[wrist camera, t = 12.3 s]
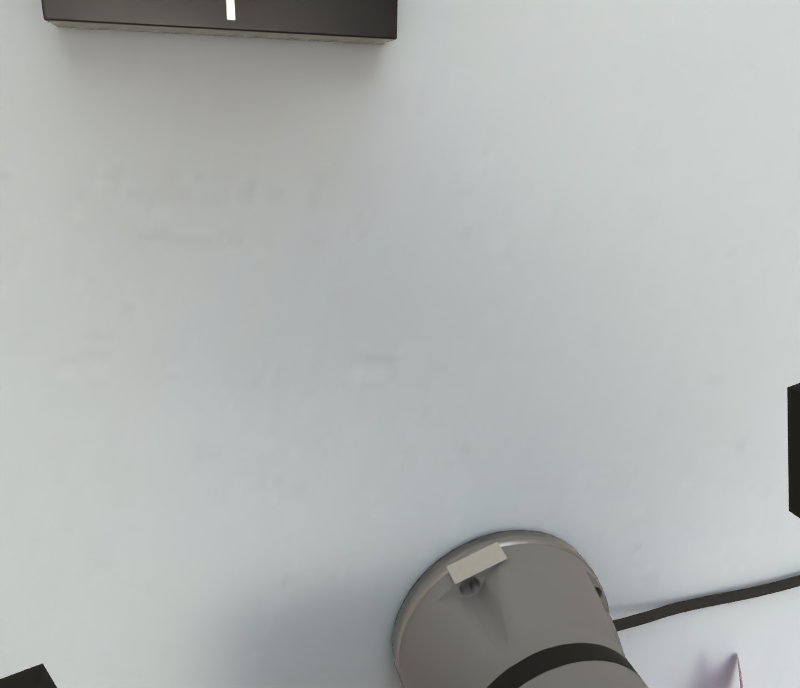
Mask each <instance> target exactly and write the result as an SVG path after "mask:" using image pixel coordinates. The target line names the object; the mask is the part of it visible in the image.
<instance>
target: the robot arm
mask: <svg viewBox="0 0 800 688" xmlns="http://www.w3.org/2000/svg"><path fill="white" fill-rule="evenodd" d="M787 396H788V475H789V511H790V512H792V513H793V514H794V515H796V516H797V517H799V518H800V383H798V384H796V385H793V386H790V387H788V388H787ZM798 586H800V575H799V576H795V577H791V578H788V579H784V580H780V581H776V582H772V583H769V584H764V585H760V586H756V587H751V588H747V589H742V590H737V591H732V592H727V593H721V594H716V595H711V596H706V597H701V598H696V599H691V600H687V601H682V602H678V603H674V604H670V605H666V606H663V607H660V608H656V609H653V610H650V611H647V612H643V613H640V614H636V615H632V616H629V617H625V618H621V619H617V620H613V621H612V619H611V617H610V615H609V609H608V604H607V600H606V597H605V594H604V591H603V589H602V587H601V585H600V583H599V581H598V579H597V577H596V575H595V574H594V572H593V571H592V569H591V568H590V567H589V566H588V564H587V563H586V562H585V561H584V560H583V558H582V557H581V556H580V555H579V554H578V552H577V551H575V550H574V549H573V548H572V547H571V546H570V545H568V544H567V543H566V542H564V541H562V540H560V539H558V538H556V537H554V536H551V535H548V534H545V533H541V532H535V531H525V530H516V531H505V532H499V533H494V534H490V535H487V536H483V537H480V538H478V539H475V540H473V541H470V542H468V543H466V544H464V545H462V546H460V547H458V548H456V549H455V550H453V551H451V552H450V553H448V554H447V555H446V556H444V557H443V558H441V559H440V560H439V561H438V562H436V563H435V564H434V565H433V566H432V567H431V568H430V569H428V570H427V571H426V572H425V573H424V574H423V576H422V577H421V578H420V579H419V580H418V581H417V582H416V584H415V585H414V586H413V588H412V589H411V591H410V592H409V594H408V595H407V597H406V599H405V600H404V602H403V604H402V606H401V608H400V611H399V614H398V616H397V619H396V623H395V627H394V632H393V644H392V646H393V656H394V661H395V664H396V667H397V670H398V673H399V676H400V679H401V682H402V685H403V687H404V688H648V687H647V685H646V684H645V683H644V681H643V680H642V679H641V677H640V676H639V675H638V674H637V672H636V671H635V670H634V668H633V667H632V666H631V664H630V663H629V662H628V660H627V659H626V658H625V655H624V652H623V649H622V646H621V643H620V640H619V637H618V634H617V631H620V630H624V629H628V628H631V627H635V626H638V625H642V624H645V623H649V622H652V621H655V620H658V619H661V618H664V617H668V616H671V615H675V614H678V613H682V612H687V611H691V610H695V609H700V608H705V607H709V606H715V605H720V604H725V603H730V602H735V601H740V600H745V599H750V598H754V597H759V596H763V595H767V594H771V593H775V592H779V591H783V590H787V589H790V588H794V587H798ZM0 688H57V687H56V685H55V684H54V682H53V680H52V679H51V677H50V675H49V673H48V672H47V670H46V668H45V667H44V665H43V664H40V665H37V666H35V667H32V668H29V669H26V670H24V671H21V672H18V673H16V674H13V675H10V676H8V677H5V678H2V679H0Z"/></svg>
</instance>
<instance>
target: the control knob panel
mask: <svg viewBox="0 0 800 688" xmlns="http://www.w3.org/2000/svg"><path fill="white" fill-rule="evenodd" d="M41 1H42V9H43V16H44V19H45V20H46V21H48V22H50V23H52V24H53V25H55V26H57V27H67V28H86V29H105V30H124V31H142V32H161V33H180V34H199V35H218V36H237V37H255V38H274V39H293V40H312V41H331V42H349V43H368V44H385V43H388V42H390V41H393V40H395V39H396V38H397V1H398V0H41Z"/></svg>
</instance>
